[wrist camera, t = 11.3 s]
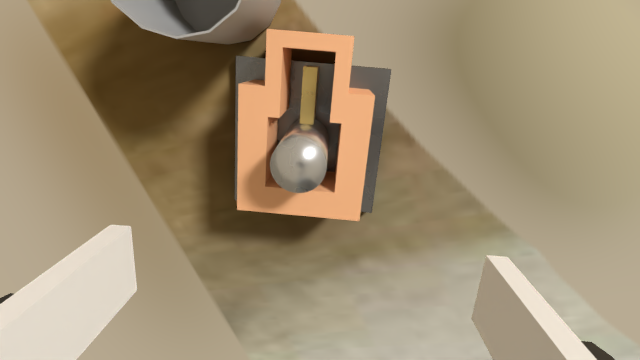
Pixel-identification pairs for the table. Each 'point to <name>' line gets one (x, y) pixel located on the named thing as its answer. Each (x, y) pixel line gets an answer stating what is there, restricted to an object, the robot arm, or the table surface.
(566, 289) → the table surface
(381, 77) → the post base
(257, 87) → the orange bottle-shaped mold
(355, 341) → the table surface
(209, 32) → the cup
